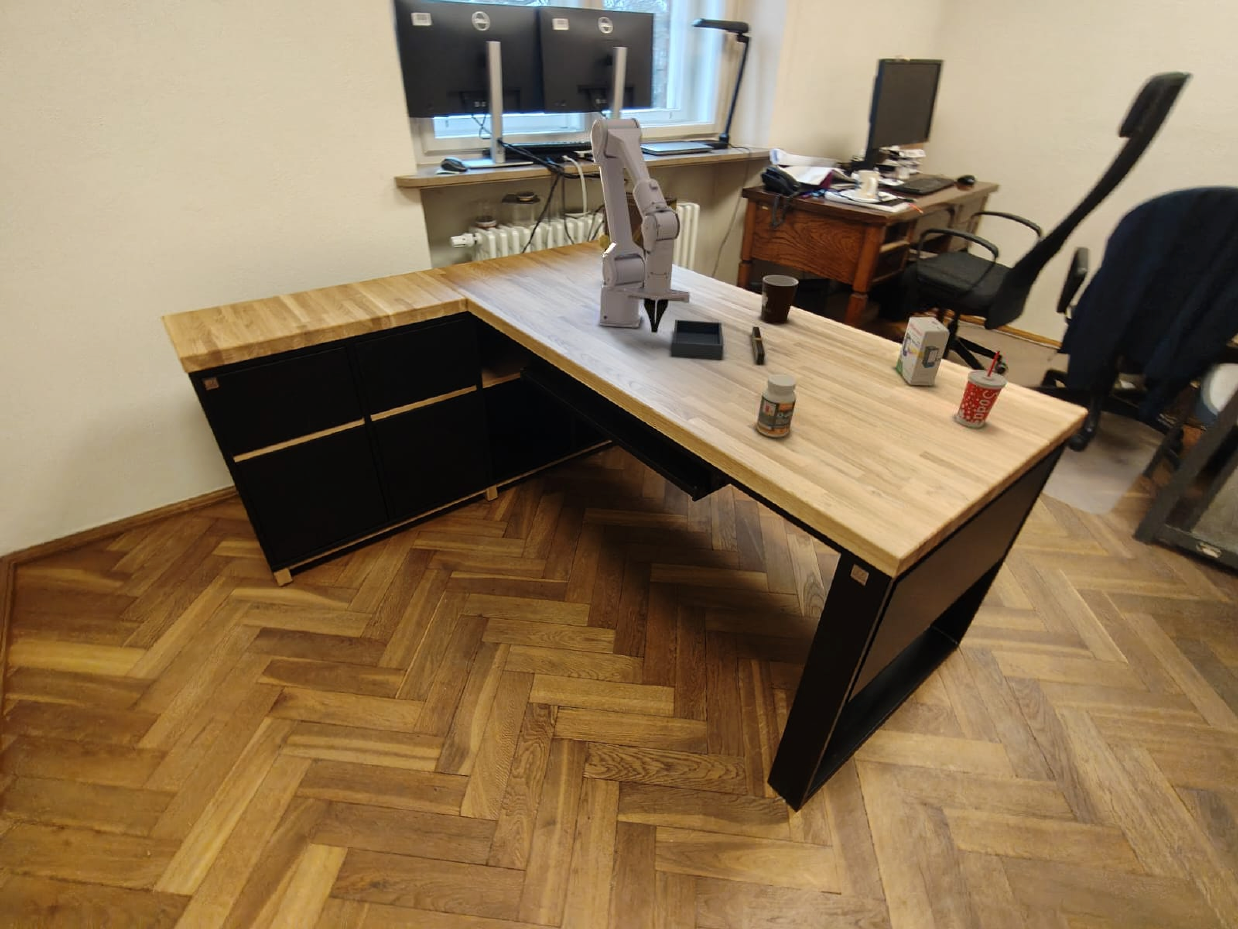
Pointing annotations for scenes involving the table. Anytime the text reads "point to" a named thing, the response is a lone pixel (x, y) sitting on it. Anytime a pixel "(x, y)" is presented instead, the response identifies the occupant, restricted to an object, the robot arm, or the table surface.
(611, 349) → the table surface
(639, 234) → the book
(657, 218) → the robot arm
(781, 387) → the pill bottle
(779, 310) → the coffee mug
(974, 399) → the beverage cup
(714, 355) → the tray
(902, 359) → the ink box
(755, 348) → the stop rail
